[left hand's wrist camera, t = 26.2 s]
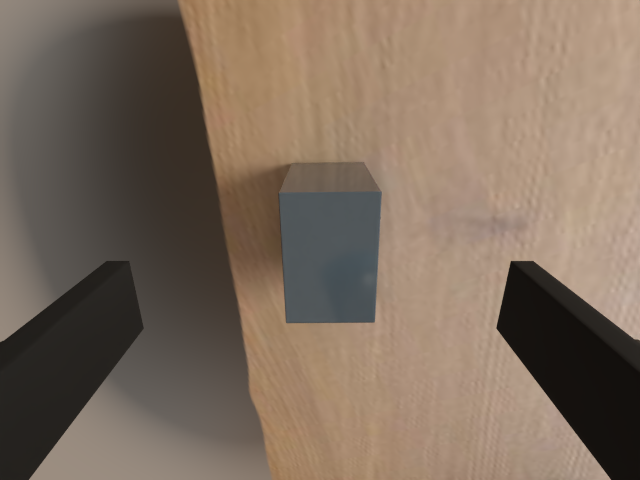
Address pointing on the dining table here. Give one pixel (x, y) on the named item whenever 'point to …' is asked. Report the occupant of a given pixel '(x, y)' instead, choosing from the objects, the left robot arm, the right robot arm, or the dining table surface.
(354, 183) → the brick
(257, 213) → the dining table surface
